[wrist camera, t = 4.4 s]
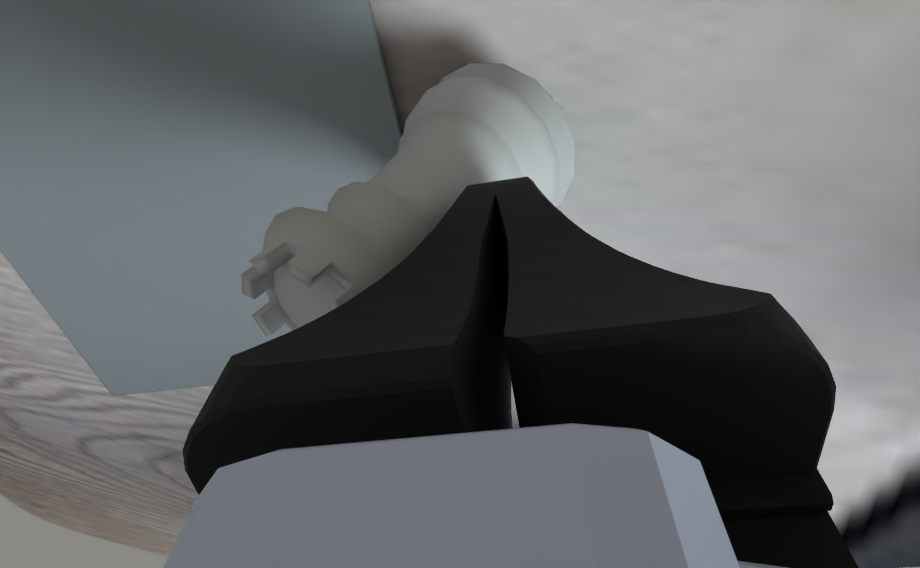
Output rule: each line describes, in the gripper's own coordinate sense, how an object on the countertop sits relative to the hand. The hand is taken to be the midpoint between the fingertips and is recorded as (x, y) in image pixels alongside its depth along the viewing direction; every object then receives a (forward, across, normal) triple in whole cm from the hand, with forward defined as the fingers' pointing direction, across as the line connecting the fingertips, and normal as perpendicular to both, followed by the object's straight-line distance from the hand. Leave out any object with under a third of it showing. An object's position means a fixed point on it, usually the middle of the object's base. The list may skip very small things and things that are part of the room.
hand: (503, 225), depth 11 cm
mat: (+5, +10, 0) cm, 11 cm away
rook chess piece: (+5, 0, 0) cm, 5 cm away
